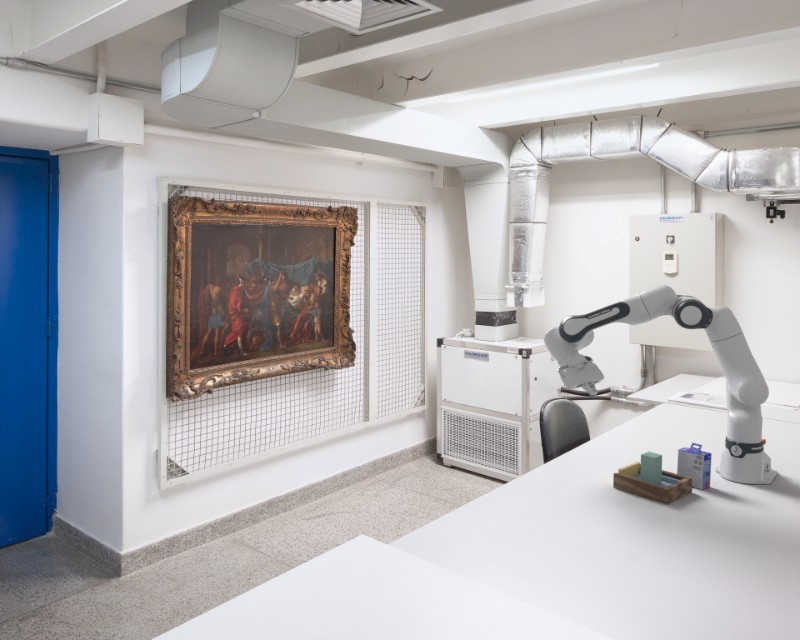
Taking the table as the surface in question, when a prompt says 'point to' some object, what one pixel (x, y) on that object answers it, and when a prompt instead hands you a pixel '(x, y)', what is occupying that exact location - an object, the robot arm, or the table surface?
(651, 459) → the block
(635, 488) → the dock
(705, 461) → the ink cartridge box
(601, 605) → the table surface
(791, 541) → the table surface
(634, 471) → the tray
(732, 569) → the table surface
